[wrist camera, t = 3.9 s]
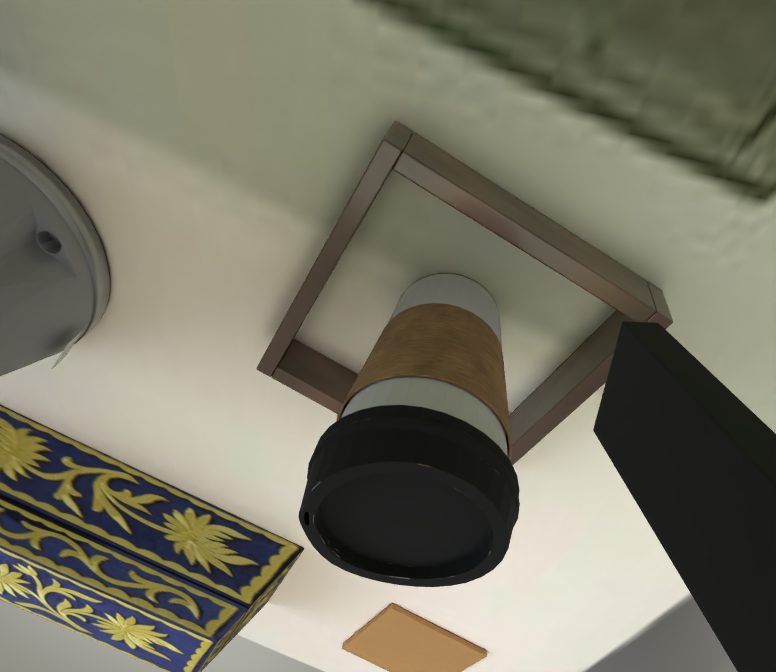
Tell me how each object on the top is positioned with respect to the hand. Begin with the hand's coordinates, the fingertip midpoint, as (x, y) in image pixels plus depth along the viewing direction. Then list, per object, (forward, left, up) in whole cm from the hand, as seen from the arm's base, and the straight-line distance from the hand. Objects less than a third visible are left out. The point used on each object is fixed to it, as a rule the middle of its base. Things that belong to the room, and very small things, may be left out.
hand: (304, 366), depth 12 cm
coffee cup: (+7, -9, -19) cm, 22 cm away
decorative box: (-5, -42, -19) cm, 46 cm away
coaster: (+24, -42, -19) cm, 52 cm away
